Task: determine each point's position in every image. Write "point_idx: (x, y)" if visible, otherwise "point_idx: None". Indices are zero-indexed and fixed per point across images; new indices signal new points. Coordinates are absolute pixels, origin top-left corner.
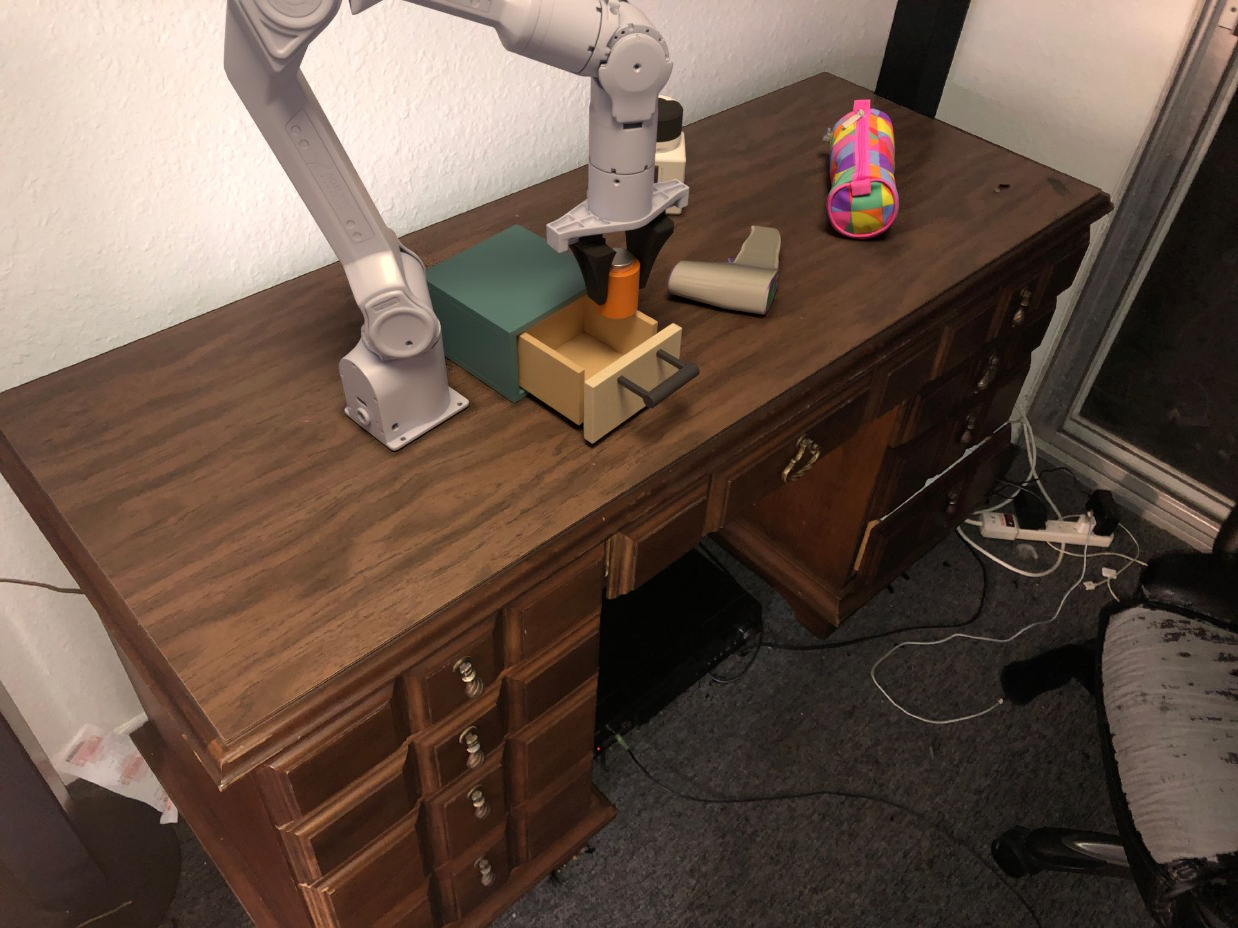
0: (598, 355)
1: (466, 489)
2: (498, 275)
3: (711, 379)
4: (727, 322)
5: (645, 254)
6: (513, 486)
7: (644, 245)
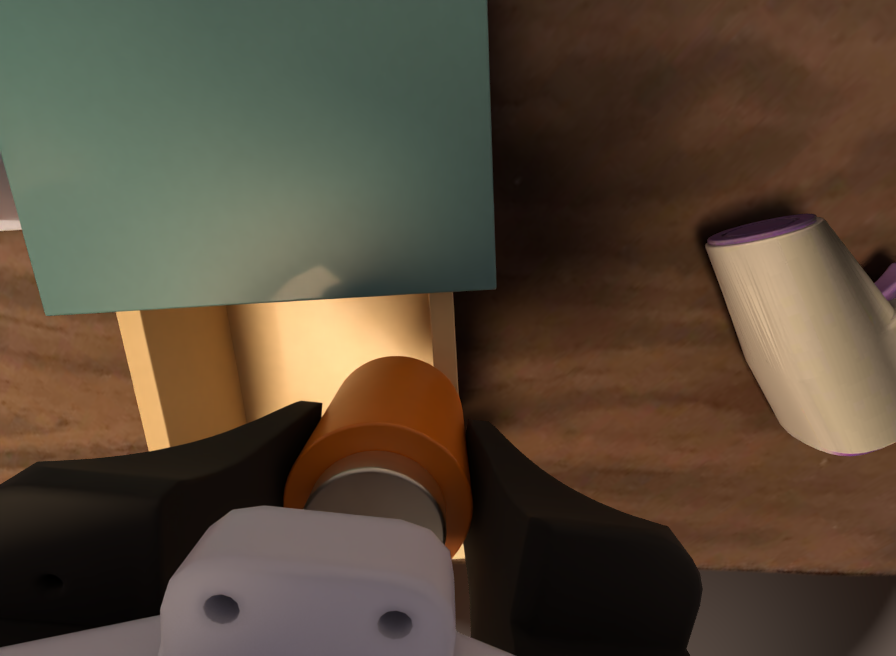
0: (395, 322)
1: (8, 395)
2: (180, 11)
3: (544, 470)
4: (713, 377)
5: (474, 601)
6: (83, 440)
7: (478, 629)
